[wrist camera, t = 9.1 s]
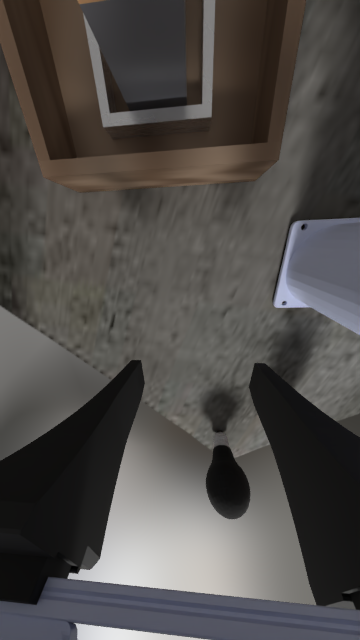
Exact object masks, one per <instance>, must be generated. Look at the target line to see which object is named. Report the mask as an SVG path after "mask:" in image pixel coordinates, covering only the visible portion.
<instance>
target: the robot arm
mask: <svg viewBox="0 0 360 640" xmlns="http://www.w3.org/2000/svg"><path fill="white" fill-rule="evenodd" d="M303 224H304V225H305V228H304V229H303V230H301V226H302V225H303ZM283 301H285V303H284V304H282V302H283ZM273 305H274V306H275V307H277V308H286V307H311V308H313V309H315V310H317V311H318V312H320V313H322V314H324V315H325V316H327V317H329V318H331V319H332V320H334V321H336V322H338V323H339V324H341V325H343V326H345V327H347V328H348V329H350V330H352V331H354V332H355V333H357V334H359V335H360V218H343V219H323V220H302V221H295V222H294V223H293V224H292V225H291V227H290V230H289V235H288V239H287V243H286V248H285V252H284V256H283V261H282V265H281V269H280V274H279V278H278V283H277V287H276V291H275V296H274V300H273ZM144 384H145V383H144V376H143V370H142V364H141V360H131V361H130V362H129V363H128V364H127V365H126V366H125V367H124V369H123V370H122V371H121V372H120V373H119V374H118V375H117V376H116V377H115V378H114V379H113V380H112V381H111V382H110V383H109V384H108V385H107V386H106V387H104V388H103V389H102V390H101V391H100V392H99V393H98V394H97V395H96V396H94V397H93V398H92V399H91V400H90V401H89V402H87V403H86V404H85V405H84V406H83V407H81V408H80V409H79V410H78V411H76V412H75V413H74V414H72V415H71V416H70V417H68V418H67V419H66V420H64V421H63V422H61V423H60V424H58V425H57V426H55V427H54V428H53V429H51V430H50V431H48V432H47V433H45V434H44V435H42V436H41V437H39V438H38V439H36V440H34V441H33V442H31V443H30V444H28V445H26V446H25V447H23V448H22V449H20V450H18V451H17V452H15V453H13V454H12V455H10V456H8V457H6V458H5V459H3V460H1V461H0V640H77V628H76V625H75V624H74V623H79V624H87V625H95V626H103V627H112V628H120V629H128V630H136V631H144V632H152V633H160V634H168V635H177V636H185V637H193V638H201V639H210V640H360V437H358V436H356V435H355V434H353V433H352V432H350V431H349V430H347V429H346V428H344V427H343V426H342V425H340V424H339V423H337V422H336V421H335V420H333V419H332V418H330V417H329V416H328V415H326V414H325V413H323V412H322V411H321V410H319V409H318V408H317V407H316V406H314V405H313V404H312V403H310V402H309V401H308V400H307V399H305V398H304V397H303V396H302V395H301V394H299V393H298V392H297V391H296V390H295V389H293V388H292V387H291V386H290V385H289V384H288V383H286V382H285V381H284V380H283V379H282V378H281V377H280V376H279V375H277V374H276V373H275V372H274V371H273V370H272V369H271V368H270V367H268V366H267V365H266V364H265V363H255V364H254V368H253V372H252V377H251V381H250V385H249V388H250V392H251V396H252V399H253V403H254V406H255V408H256V411H257V413H258V416H259V418H260V420H261V423H262V425H263V428H264V430H265V433H266V435H267V437H268V440H269V442H270V445H271V448H272V450H273V453H274V456H275V459H276V462H277V465H278V469H279V472H280V475H281V478H282V482H283V485H284V488H285V492H286V495H287V499H288V502H289V506H290V509H291V513H292V516H293V520H294V524H295V528H296V531H297V535H298V539H299V543H300V547H301V551H302V555H303V559H304V563H305V567H306V571H307V576H308V580H309V584H310V587H311V590H312V593H313V596H314V598H315V601H316V604H317V605H307V604H299V603H289V602H279V601H270V600H261V599H251V598H242V597H232V596H222V595H214V594H205V593H195V592H186V591H177V590H167V589H158V588H148V587H139V586H129V585H119V584H111V583H101V582H92V581H83V580H72V579H67V577H68V575H69V573H76V574H78V572H79V570H80V569H87V570H90V569H91V568H92V567H93V566H94V565H95V564H96V563H97V561H98V560H99V559H100V556H101V550H102V545H103V541H104V536H105V530H106V526H107V521H108V516H109V512H110V507H111V503H112V498H113V494H114V489H115V485H116V481H117V477H118V473H119V468H120V464H121V461H122V457H123V453H124V449H125V445H126V442H127V438H128V435H129V432H130V430H131V427H132V424H133V421H134V418H135V415H136V412H137V410H138V407H139V403H140V401H141V397H142V393H143V388H144Z"/></svg>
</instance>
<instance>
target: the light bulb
mask: <svg viewBox="0 0 360 640" xmlns="http://www.w3.org/2000/svg"><path fill="white" fill-rule="evenodd" d="M213 442H214V449H213V460H212V463H211V466H210V468H209V470H208V473H207V477H206V489H207V493H208V497H209V500H210V502H211V504H212V505H213V507H214V508H215V510H216V511H217V512H218V513H219V514H221V515H222V516H223V517H225V518H228V519H237V518H239V517H241V516H242V515H243V514H244V513H245V512H246V510H247V508H248V506H249V502H250V487H249V483H248V480H247V478H246V475H245V474H244V472H243V470H242V469H241V467H240V466H238V464H237V463H236V461H235V459H234V457H233V454H232V451H231V449H230V447H229V443H228V439H227V436H226V435H225V434H224V433H222V432H221V431H218V432H217V433H216V434H215V435H214V436H213Z"/></svg>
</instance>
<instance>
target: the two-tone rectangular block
mask: <svg viewBox="0 0 360 640" xmlns="http://www.w3.org/2000/svg"><path fill="white" fill-rule="evenodd" d="M77 1H78V3H79V5H80V7H81V9H82V11H83V13H84V15H85V18H86V20H87V22H88V24H89V26H90V28H91V30H92V32H93V34H94V36H95V39H96V41H97V43H98V45H99V47H100V49H101V51H102V53H103V55H104V58H105V60H106V62H107V64H108V66H109V68H110V70H111V72H112V74H113V76H114V79H115V81H116V83H117V85H118V87H119V89H120V91H121V93H122V95H123V98H124V100H125V102H126V104H127V106H128V108H129V110H130V111H138V110H148V109H158V108H168V107H178V106H187V75H186V4H185V0H77Z"/></svg>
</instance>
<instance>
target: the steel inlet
mask: <svg viewBox="0 0 360 640" xmlns="http://www.w3.org/2000/svg"><path fill="white" fill-rule="evenodd" d="M83 15H84V13H83ZM84 21H85V27H86V33H87V38H88V44H89V50H90V55H91V61H92V67H93V73H94V78H95V84H96V90H97V95H98V101H99V107H100V112H101V118H102V124H103V128H104V129H105V130H106V132H107V133H108V134H109V135H110V137H111V138H112V139H124V138H135V137H146V136H158V135H169V134H180V133H191V132H203V131H209V129H210V123H211V116H212V85H213V55H214V24H215V0H202V72H201V104H198V105H188V106H178V107H168V108H158V109H148V110H138V111H128V112H118V113H117V112H116V105H115V98H114V91H113V84H112V77H111V71H110V68H109V66H108V64H107V62H106V60H105V58H104V55H103V53H102V51H101V49H100V47H99V45H98V43H97V41H96V39H95V36H94V34H93V32H92V30H91V28H90V26H89V24H88V22H87V20H86V18H85V15H84Z"/></svg>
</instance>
